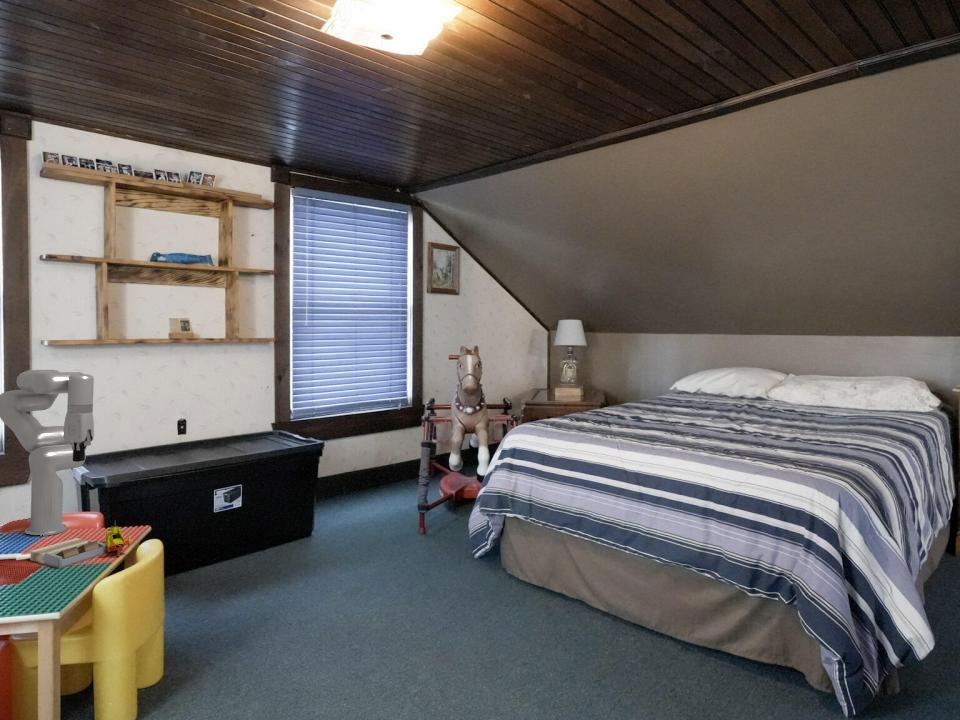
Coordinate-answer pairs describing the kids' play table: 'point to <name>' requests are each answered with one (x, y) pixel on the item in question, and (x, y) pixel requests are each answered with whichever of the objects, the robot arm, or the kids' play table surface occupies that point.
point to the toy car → (115, 539)
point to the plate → (55, 549)
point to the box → (73, 557)
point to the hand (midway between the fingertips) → (78, 460)
